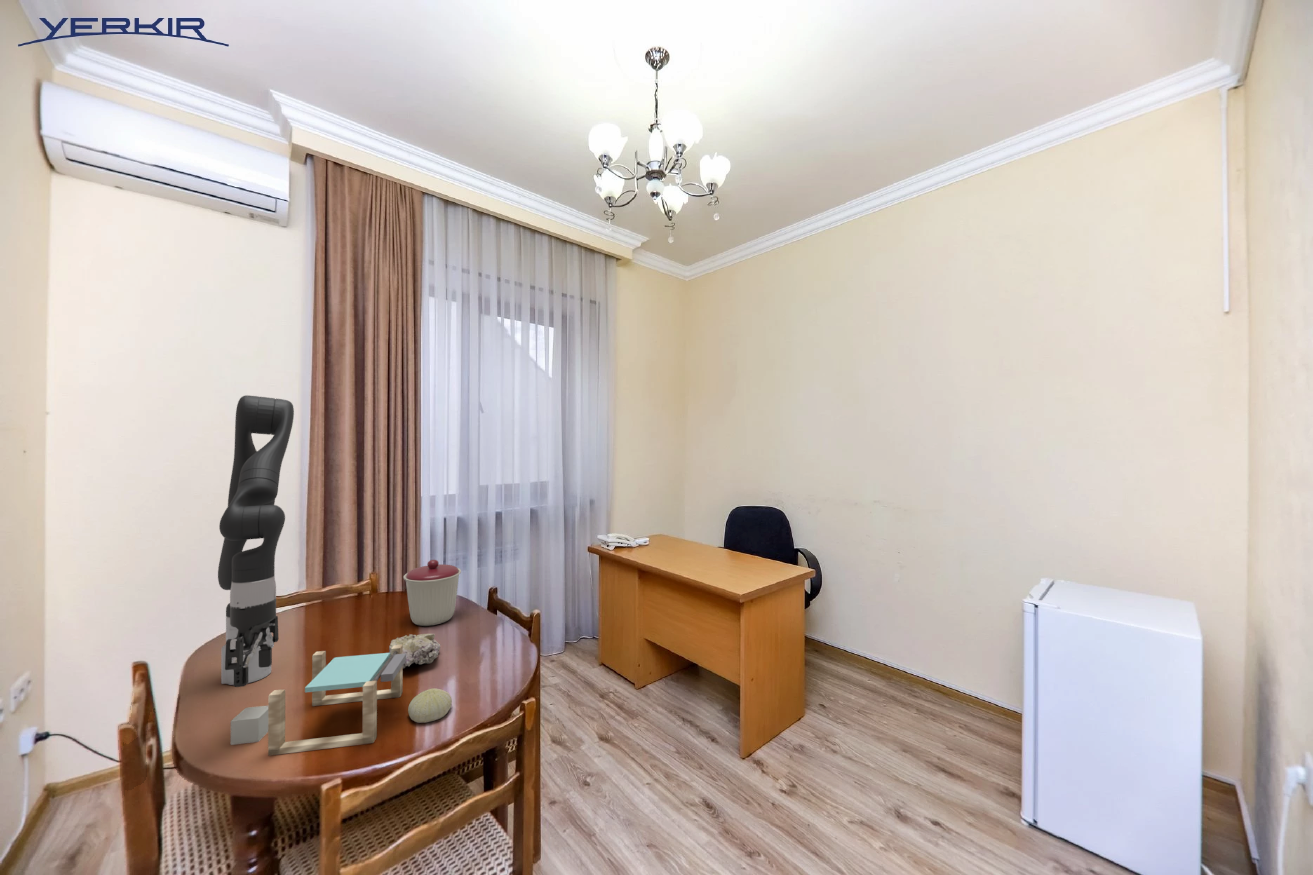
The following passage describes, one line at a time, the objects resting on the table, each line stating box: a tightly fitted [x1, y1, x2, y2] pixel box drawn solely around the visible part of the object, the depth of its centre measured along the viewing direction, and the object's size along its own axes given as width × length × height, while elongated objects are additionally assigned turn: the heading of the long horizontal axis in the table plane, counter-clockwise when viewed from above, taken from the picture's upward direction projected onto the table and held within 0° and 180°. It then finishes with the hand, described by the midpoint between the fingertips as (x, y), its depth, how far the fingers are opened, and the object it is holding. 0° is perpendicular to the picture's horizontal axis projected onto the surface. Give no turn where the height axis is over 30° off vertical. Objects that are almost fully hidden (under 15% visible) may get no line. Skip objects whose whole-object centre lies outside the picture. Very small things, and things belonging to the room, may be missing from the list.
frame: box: [267, 645, 404, 757], centre depth 107 cm, size 19×20×12 cm
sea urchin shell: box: [407, 687, 453, 724], centre depth 110 cm, size 9×8×8 cm
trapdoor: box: [304, 652, 406, 693], centre depth 108 cm, size 16×14×2 cm
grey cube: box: [230, 705, 268, 746], centre depth 102 cm, size 5×5×5 cm
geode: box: [388, 633, 441, 669], centre depth 136 cm, size 17×9×15 cm
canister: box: [403, 559, 462, 627], centre depth 166 cm, size 18×18×21 cm
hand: (253, 675), depth 102 cm, fingers open, 8 cm apart
